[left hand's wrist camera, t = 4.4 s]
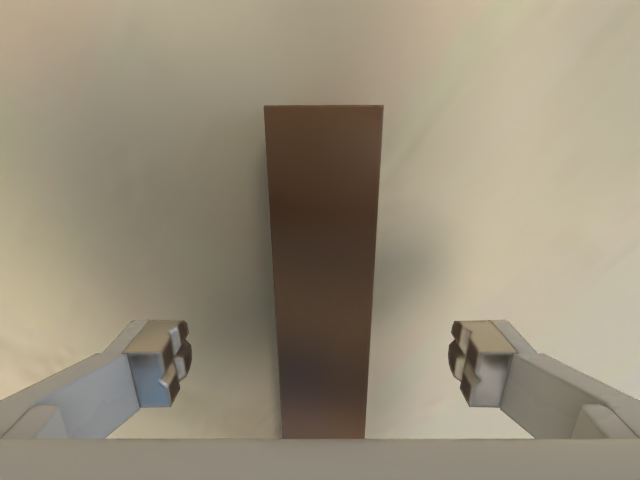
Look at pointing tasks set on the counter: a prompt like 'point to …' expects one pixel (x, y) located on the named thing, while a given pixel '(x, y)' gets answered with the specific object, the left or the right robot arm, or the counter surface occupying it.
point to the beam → (323, 261)
